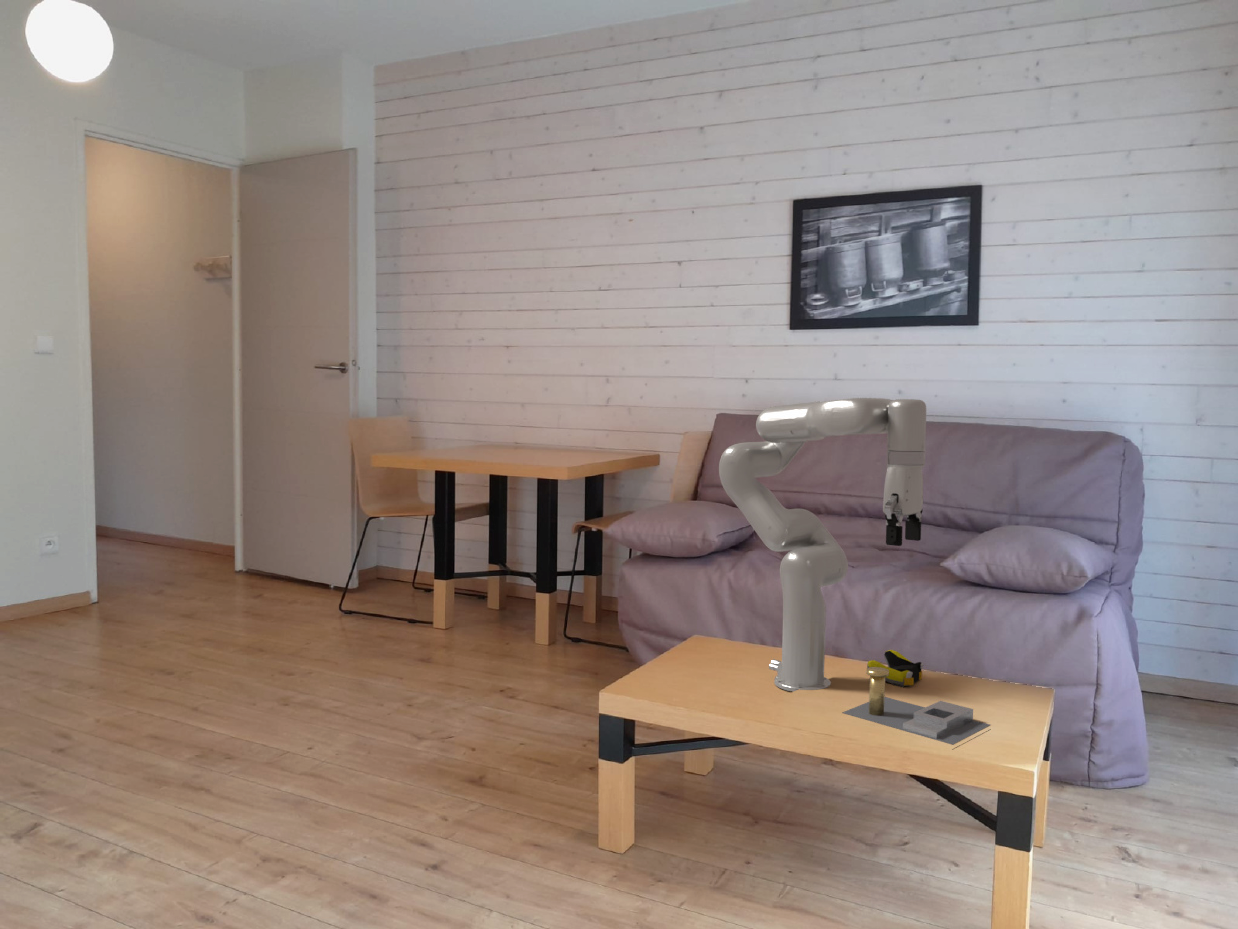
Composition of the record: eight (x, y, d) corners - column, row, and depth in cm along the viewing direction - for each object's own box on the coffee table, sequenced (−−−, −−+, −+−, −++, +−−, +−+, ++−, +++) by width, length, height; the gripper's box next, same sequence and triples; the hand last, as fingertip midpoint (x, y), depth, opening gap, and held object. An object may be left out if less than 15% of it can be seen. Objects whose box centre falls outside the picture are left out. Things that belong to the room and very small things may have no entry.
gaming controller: (863, 684, 217) (906, 692, 212) (864, 660, 217) (907, 668, 211) (886, 669, 230) (928, 677, 224) (887, 647, 229) (929, 654, 223)
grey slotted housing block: (902, 729, 185) (903, 717, 185) (940, 712, 195) (940, 700, 195) (936, 739, 180) (936, 726, 180) (972, 720, 190) (973, 709, 190)
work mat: (841, 717, 194) (841, 712, 194) (882, 700, 205) (882, 696, 205) (952, 749, 177) (952, 744, 177) (990, 729, 188) (990, 724, 188)
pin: (861, 713, 194) (862, 669, 193) (872, 708, 197) (873, 665, 196) (880, 718, 191) (881, 674, 190) (891, 713, 194) (893, 670, 193)
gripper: (904, 457, 203) (902, 536, 204) (870, 460, 190) (868, 545, 191) (939, 458, 198) (937, 539, 200) (906, 462, 185) (904, 549, 186)
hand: (903, 542), depth 195 cm, fingers open, 9 cm apart
